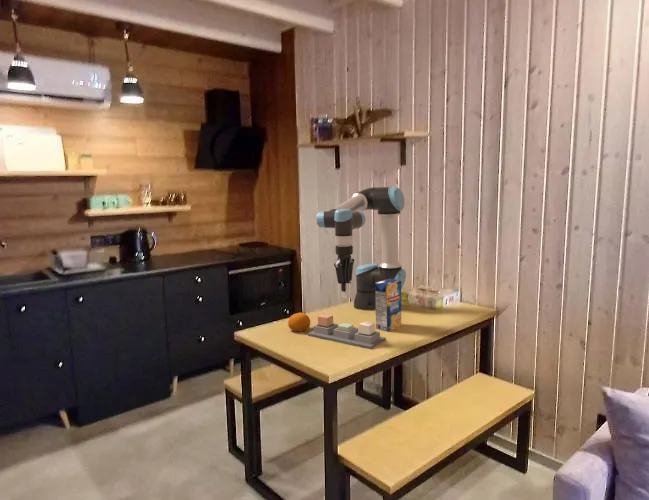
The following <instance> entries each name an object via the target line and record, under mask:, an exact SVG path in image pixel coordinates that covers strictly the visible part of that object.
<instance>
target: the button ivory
mask: <svg viewBox="0 0 649 500" xmlns="http://www.w3.org/2000/svg"><path fill="white" fill-rule="evenodd" d="M375 331H376V322H372V321H366V320H365V321H363V322H361V323H359V324H358V332H359V333H361V334H366V335H370V334H372V333H374V332H375Z"/></svg>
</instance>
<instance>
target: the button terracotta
mask: <svg viewBox="0 0 649 500" xmlns="http://www.w3.org/2000/svg"><path fill="white" fill-rule="evenodd" d="M333 323H334V315H333V314H328V313H323V314H320V315H318V316H317V324H318V325H321V326H326V327H327V326H330V325H332V324H333Z"/></svg>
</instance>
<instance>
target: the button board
mask: <svg viewBox="0 0 649 500" xmlns="http://www.w3.org/2000/svg"><path fill="white" fill-rule="evenodd" d="M338 325H339V323H334V322H333V324H332V325H330V326H327V327H326V326H321V325H318V323H317V324H314V325H313V330H312V331H309V332H307V336H308V337H311V338H317V339H322V340H325V341H326V340H327V341H331V342H335V343H340V344H344V345H348V346H352V347H359V348H363V349H367V350H372V349H374V348H375V347H377V346H379V345H380V344H382V343H384V342H385V341H386V340H387V338H386V337H384V336H381V332H380V331H376V330H375V332H374V333H372V334H370V335H366V334H361V333H359V327H355V326H354V329H353V330H351V331H349V332H345V331H340V330H338Z"/></svg>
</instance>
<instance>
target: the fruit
mask: <svg viewBox="0 0 649 500" xmlns="http://www.w3.org/2000/svg"><path fill="white" fill-rule="evenodd" d="M287 324H288V325H287V326H288V328H289V329H290V330H291V331H294V332H303V331H306V330H308V329H309V328H310V326H311V319H310V317H309V315H307V314H306V313H303V312H297V313H293V314H292V315H291V316H290V317H289V318H288V320H287Z"/></svg>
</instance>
